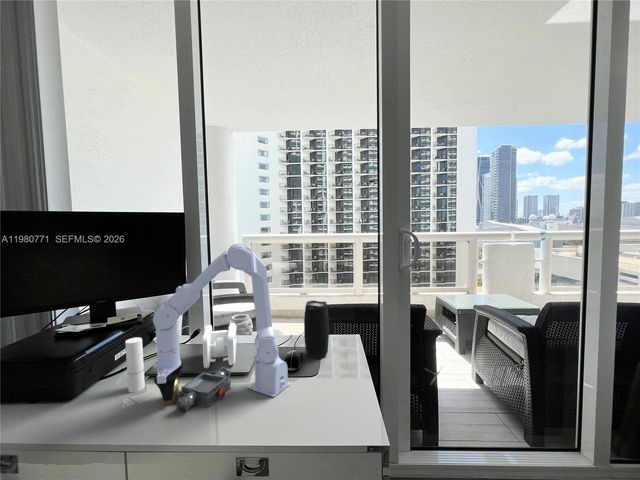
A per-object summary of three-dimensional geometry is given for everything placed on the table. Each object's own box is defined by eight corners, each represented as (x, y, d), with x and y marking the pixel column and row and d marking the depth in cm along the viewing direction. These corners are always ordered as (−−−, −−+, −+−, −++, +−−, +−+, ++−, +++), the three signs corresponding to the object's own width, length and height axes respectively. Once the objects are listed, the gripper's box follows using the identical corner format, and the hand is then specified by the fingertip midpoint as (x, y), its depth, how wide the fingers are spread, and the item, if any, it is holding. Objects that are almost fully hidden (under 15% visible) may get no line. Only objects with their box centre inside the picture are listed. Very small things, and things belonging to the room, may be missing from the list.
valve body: (212, 376, 103) (211, 364, 103) (241, 382, 99) (241, 369, 99) (167, 408, 86) (167, 394, 85) (201, 417, 82) (200, 402, 82)
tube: (137, 393, 94) (134, 343, 93) (124, 391, 95) (121, 342, 93) (148, 385, 98) (145, 337, 97) (135, 384, 99) (133, 337, 98)
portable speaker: (332, 351, 120) (332, 300, 119) (321, 362, 112) (321, 307, 110) (312, 347, 124) (311, 298, 122) (300, 357, 115) (299, 304, 114)
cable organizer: (208, 353, 121) (207, 323, 120) (237, 350, 123) (236, 320, 122) (203, 371, 106) (201, 337, 105) (236, 368, 108) (234, 334, 108)
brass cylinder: (182, 399, 90) (181, 378, 90) (168, 406, 87) (167, 385, 86) (172, 395, 92) (171, 375, 92) (159, 402, 89) (158, 381, 88)
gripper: (161, 339, 95) (163, 383, 96) (142, 361, 81) (145, 412, 82) (186, 337, 96) (188, 380, 97) (172, 358, 82) (175, 409, 83)
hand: (170, 395), depth 89 cm, fingers closed on brass cylinder, 4 cm apart
